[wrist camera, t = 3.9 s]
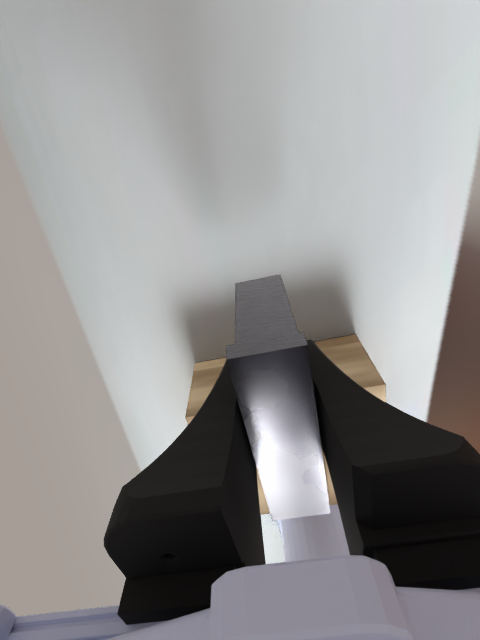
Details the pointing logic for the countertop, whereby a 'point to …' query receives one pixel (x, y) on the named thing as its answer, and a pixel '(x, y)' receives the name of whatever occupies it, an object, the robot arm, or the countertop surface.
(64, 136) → the countertop surface
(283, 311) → the grey flat piece
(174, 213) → the countertop surface
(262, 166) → the countertop surface
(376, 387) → the slotted wooden block
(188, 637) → the robot arm
